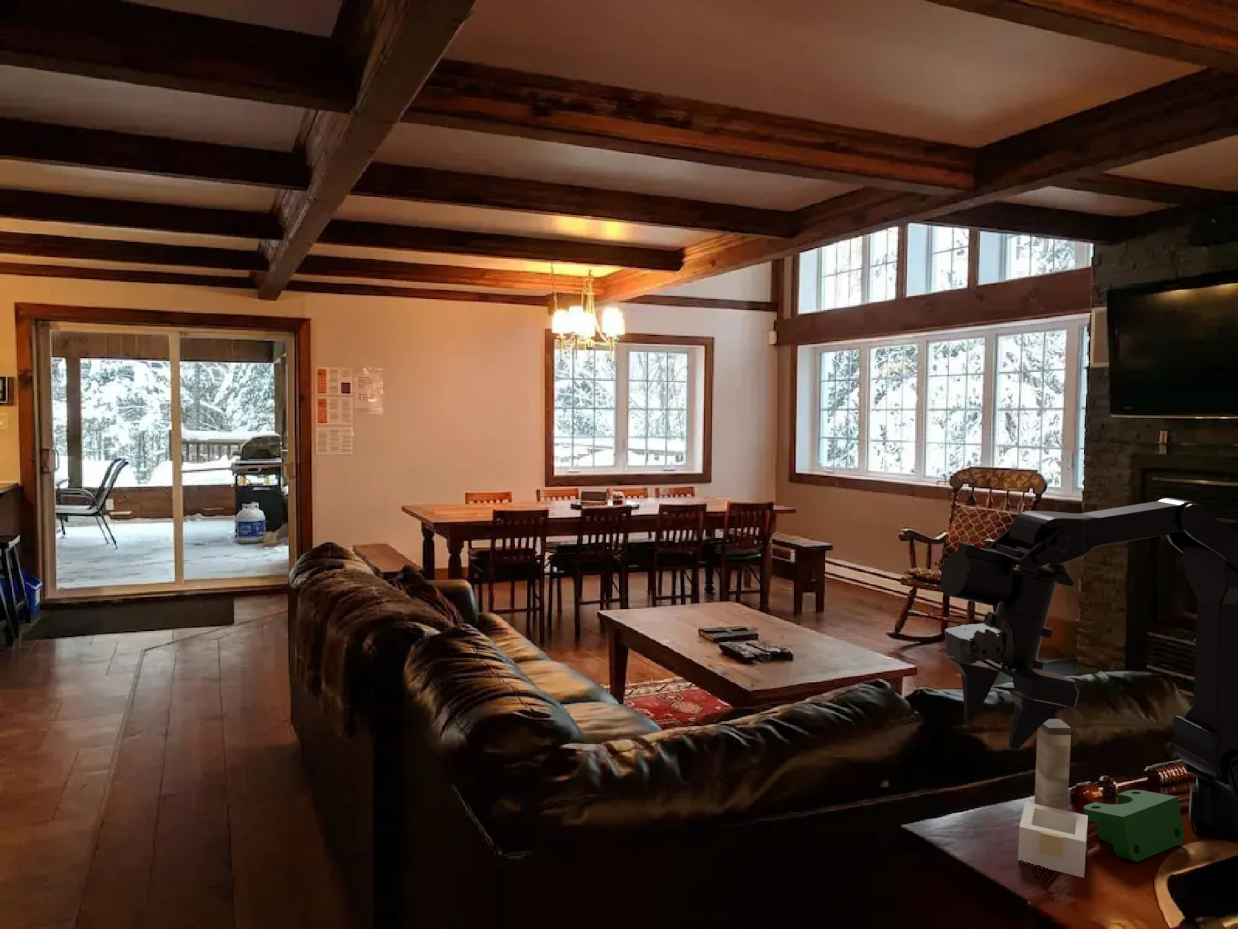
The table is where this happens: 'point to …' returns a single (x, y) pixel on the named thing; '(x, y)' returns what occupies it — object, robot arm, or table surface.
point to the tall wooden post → (1053, 764)
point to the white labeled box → (1053, 839)
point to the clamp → (1138, 823)
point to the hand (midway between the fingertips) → (990, 733)
